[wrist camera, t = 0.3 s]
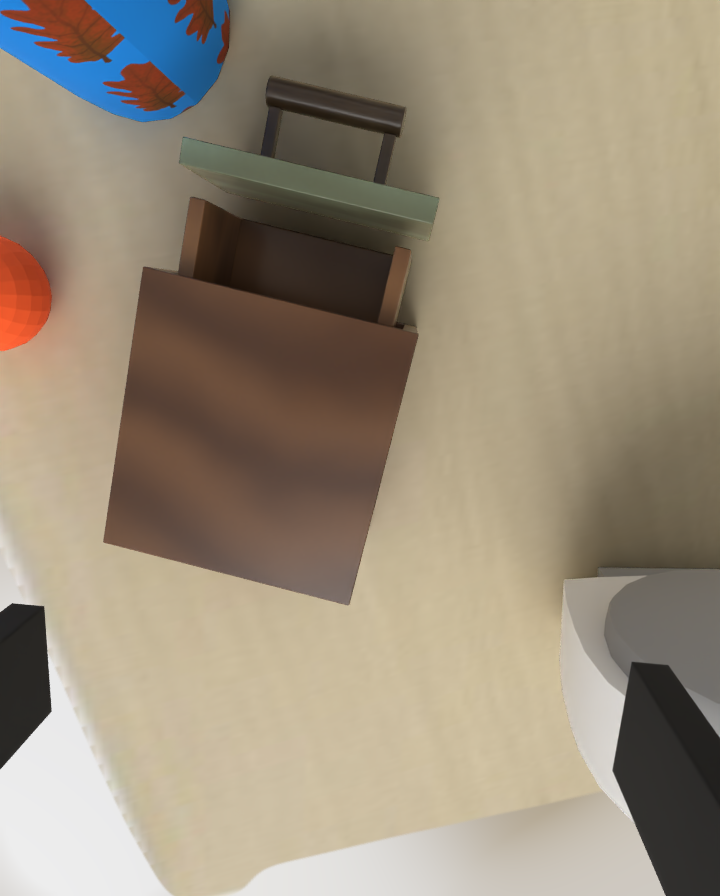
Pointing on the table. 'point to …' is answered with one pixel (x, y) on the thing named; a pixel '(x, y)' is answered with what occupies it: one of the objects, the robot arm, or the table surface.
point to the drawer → (311, 190)
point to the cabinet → (254, 433)
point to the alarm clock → (635, 650)
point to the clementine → (21, 295)
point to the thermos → (122, 50)
